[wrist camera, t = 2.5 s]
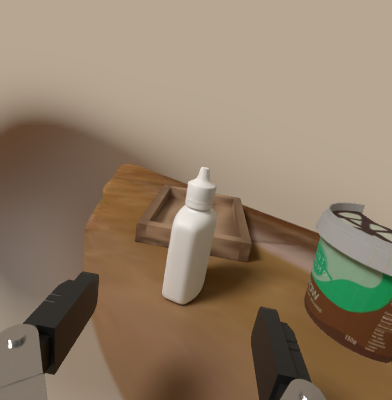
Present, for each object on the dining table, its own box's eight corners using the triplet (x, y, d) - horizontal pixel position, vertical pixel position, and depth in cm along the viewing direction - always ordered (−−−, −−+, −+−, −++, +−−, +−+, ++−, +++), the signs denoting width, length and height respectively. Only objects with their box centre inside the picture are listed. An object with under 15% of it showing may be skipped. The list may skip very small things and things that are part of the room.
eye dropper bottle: (147, 282, 26) (163, 161, 22) (192, 268, 30) (212, 161, 26) (172, 311, 23) (195, 176, 19) (219, 291, 26) (246, 174, 23)
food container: (280, 272, 32) (304, 192, 29) (331, 281, 32) (361, 203, 29) (317, 365, 20) (366, 248, 17) (398, 380, 20) (463, 266, 17)
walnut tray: (237, 210, 50) (240, 198, 49) (247, 262, 33) (251, 244, 32) (163, 197, 50) (165, 184, 49) (135, 241, 33) (137, 222, 32)
